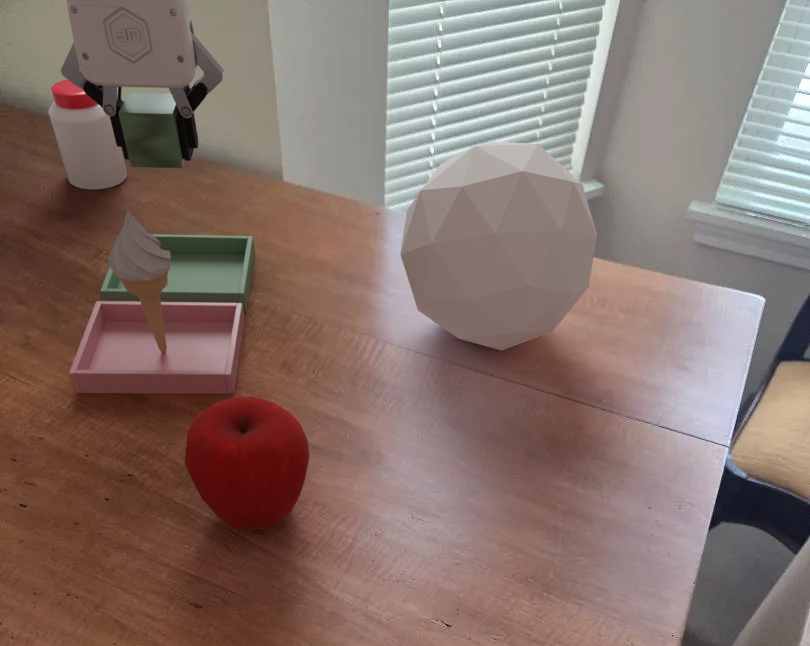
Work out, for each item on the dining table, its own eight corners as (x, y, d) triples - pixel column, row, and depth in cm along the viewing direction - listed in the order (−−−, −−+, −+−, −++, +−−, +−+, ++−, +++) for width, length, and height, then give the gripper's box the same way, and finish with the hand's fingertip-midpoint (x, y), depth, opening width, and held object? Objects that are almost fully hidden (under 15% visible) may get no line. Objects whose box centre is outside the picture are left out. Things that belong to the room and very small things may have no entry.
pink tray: (75, 393, 73) (68, 373, 71) (102, 320, 81) (96, 300, 79) (234, 394, 74) (230, 374, 72) (244, 322, 82) (242, 302, 80)
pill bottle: (78, 194, 98) (52, 103, 90) (60, 170, 102) (33, 81, 94) (136, 182, 101) (115, 92, 93) (115, 159, 105) (94, 71, 97)
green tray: (105, 310, 82) (99, 291, 80) (126, 252, 90) (121, 233, 88) (246, 312, 83) (243, 293, 81) (255, 254, 91) (253, 235, 89)
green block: (130, 167, 74) (118, 112, 70) (139, 145, 77) (128, 92, 73) (182, 168, 74) (172, 114, 70) (189, 146, 77) (180, 93, 74)
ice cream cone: (149, 375, 75) (109, 232, 63) (126, 347, 77) (84, 204, 66) (200, 356, 77) (171, 214, 65) (176, 329, 80) (144, 188, 68)
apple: (332, 529, 63) (328, 432, 55) (224, 570, 60) (202, 474, 52) (284, 456, 69) (274, 358, 60) (183, 491, 65) (157, 392, 57)
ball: (448, 355, 91) (438, 176, 86) (617, 341, 82) (615, 142, 77) (374, 360, 74) (356, 139, 70) (575, 343, 66) (570, 90, 61)
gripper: (-8, -68, 59) (64, 169, 73) (213, -60, 60) (242, 173, 74) (19, -90, 63) (81, 136, 77) (223, -82, 64) (249, 140, 78)
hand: (159, 152), depth 75 cm, fingers closed on green block, 5 cm apart
